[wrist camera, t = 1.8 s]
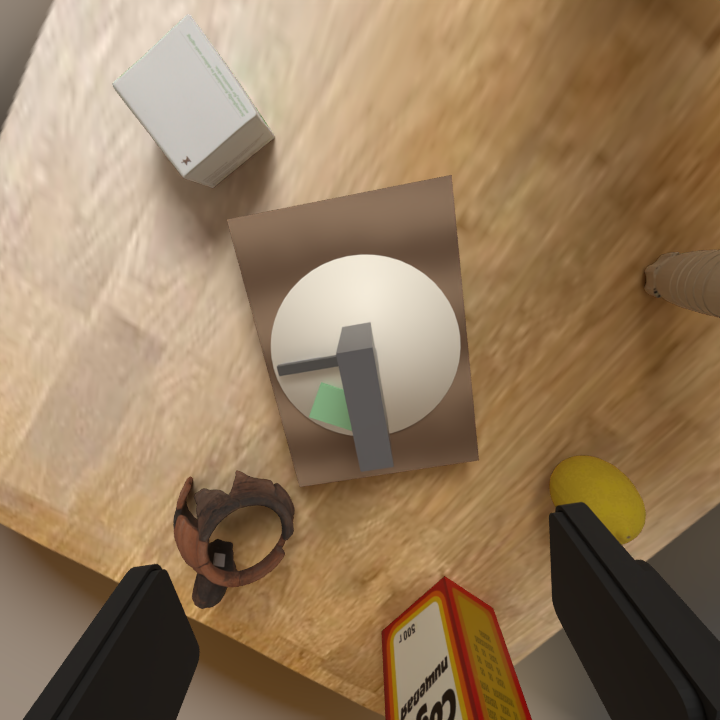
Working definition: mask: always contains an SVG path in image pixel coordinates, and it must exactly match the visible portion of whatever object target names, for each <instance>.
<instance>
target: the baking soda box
mask: <svg viewBox="0 0 720 720" xmlns="http://www.w3.org/2000/svg"><path fill="white" fill-rule="evenodd" d="M382 652H383V673H384V695H385V717H386V720H532V719H531V715H530V713H529V710H528V707H527V704H526V701H525V698H524V695H523V692H522V690H521V687H520V684H519V681H518V678H517V675H516V672H515V670H514V667H513V664H512V661H511V658H510V655H509V652H508V649H507V647H506V644H505V641H504V638H503V635H502V632H501V629H500V627H499V624H498V621H497V618H496V615H495V612H494V609H493V608H492V607H491V606H489V605H487V604H486V603H484V602H483V601H481V600H480V599H478V598H477V597H475V596H474V595H472V594H471V593H469V592H468V591H466V590H465V589H463V588H462V587H460V586H459V585H457V584H456V583H454V582H453V581H451V580H450V579H448V578H447V577H445V576H444V577H443V578H442V579H441V580H440V581H439V582H437V583H436V584H435V585H434V586H433V587H432V588H431V589H429V590H428V591H427V592H426V593H425V594H424V595H423V596H421V597H420V598H419V599H418V600H417V601H416V602H415V603H413V604H412V605H411V606H410V607H409V608H408V609H407V610H406V611H404V612H403V613H402V614H401V615H400V616H399V617H398V618H396V619H395V620H394V621H393V622H392V623H391V624H390V625H388V626H387V627H386V628H385V629H384V630H383V631H382Z"/></svg>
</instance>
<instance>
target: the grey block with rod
mask: <svg viewBox="0 0 720 720" xmlns="http://www.w3.org/2000/svg"><path fill="white" fill-rule="evenodd" d="M338 366H339V371H340V376H341V381H342V385H343V390H344V395H345V400H346V404H347V409H348V414H349V419H350V423H351V428H352V433H353V438H354V442H355V447H356V452H357V457H358V461H359V466H360V471H361V472H363V471H370V470H377V469H383V468H390V467H394V464H393V457H392V449H391V441H390V434H389V426H388V418H387V413H386V407H385V401H384V396H383V390H382V384H381V379H380V373H379V364H378V356H377V350H376V348H375V344H374V339H373V333H372V327H371V322H368V323H363V324H357V325H351V326H345V327H342V330H341V334H340V338H339V343H338V347H337V351H336V355H333V356H327V357H321V358H315V359H309V360H303V361H298V362H292V363H286V364H280V365H277V370H278V374H279V376H285V375H290V374H296V373H302V372H308V371H314V370H320V369H326V368H332V367H338Z"/></svg>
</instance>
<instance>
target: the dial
mask: <svg viewBox="0 0 720 720" xmlns="http://www.w3.org/2000/svg"><path fill="white" fill-rule="evenodd" d="M368 322H371V327H372V333H373V339H374V344H375V348H376V350H377V356H378V364H379V373H380V379H381V384H382V390H383V396H384V401H385V407H386V413H387V418H388V426H389V434H390V433H394V432H397V431H400V430H402V429H405V428H407V427H409V426H411V425H413V424H415V423H416V422H418V421H419V420H421V419H422V418H424V417H425V416H426V415H427V414H429V413H430V412H431V411H432V410H433V409H434V408H435V407H436V406H437V405H438V404H439V403H440V401H441V400H442V399H443V397H444V396H445V395H446V393H447V391H448V390H449V388H450V386H451V384H452V382H453V380H454V377H455V375H456V372H457V368H458V364H459V359H460V349H461V347H460V333H459V327H458V323H457V320H456V317H455V313H454V311H453V309H452V307H451V305H450V303H449V301H448V300H447V298H446V297H445V295H444V294H443V292H442V291H441V290H440V289H439V287H438V286H437V285H436V284H435V283H434V282H433V281H432V280H431V279H430V278H428V277H427V276H426V275H425V274H424V273H422V272H421V271H419V270H417V269H416V268H414V267H413V266H411V265H409V264H406V263H404V262H402V261H400V260H396V259H393V258H390V257H385V256H379V255H353V256H346V257H342V258H339V259H335V260H332V261H330V262H327V263H325V264H323V265H321V266H319V267H317V268H316V269H314V270H312V271H311V272H309V273H308V274H307V275H306V276H304V277H303V278H302V279H301V280H300V281H299V282H298V283H297V284H296V285H295V286H294V287H293V288H292V289H291V290H290V292H289V293H288V294H287V296H286V297H285V299H284V300H283V302H282V304H281V306H280V308H279V310H278V312H277V315H276V318H275V321H274V325H273V329H272V335H271V357H272V362H273V367H274V371H275V374H276V377H277V380H278V382H279V384H280V386H281V388H282V390H283V391H284V393H285V394H286V396H287V397H288V399H289V400H290V401H291V402H292V404H293V405H294V406H295V407H296V408H297V409H298V410H299V411H300V412H301V413H302V414H304V415H305V416H306V417H307V418H309V419H310V420H312V421H313V422H315V423H316V424H318V425H320V426H322V427H324V428H326V429H329V430H331V431H334V432H337V433H341V434H345V435H351V436H353V433H352V428H351V423H350V419H349V414H348V409H347V404H346V400H345V395H344V390H343V385H342V381H341V376H340V371H339V366H338V367H332V368H326V369H320V370H314V371H308V372H302V373H296V374H290V375H285V376H279V374H278V370H277V365H280V364H286V363H292V362H298V361H303V360H309V359H315V358H321V357H327V356H333V355H336V351H337V347H338V343H339V338H340V334H341V330H342V327H345V326H351V325H357V324H363V323H368Z"/></svg>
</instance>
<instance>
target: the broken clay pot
mask: <svg viewBox="0 0 720 720" xmlns="http://www.w3.org/2000/svg"><path fill="white" fill-rule="evenodd" d="M192 481H193V478H192V477H189V478H188V479H187V480H186V482H185V484H184V486H183V488H182V490H181V492H180V496H179V498H178V501H177V507H176V511H175V515H174V537H175V541H176V544H177V547H178V549H179V551H180V553H181V556H182V558H183V559H184V560H185V562H186V563H187V564H188V565H189V566H191V567H192V568H193V569H194V570H195V571H196V572H197V576H196V580H195V584H194V588H193V593H192V599H193V601H194V604H195V605H196V606H197V607H199V608H201V609H204V608H211V607H213V606H215V605H216V604H218V603H219V602H220V601H221V599H222V598H223V596H224V594H225V592H226V589H227V587H239V586H243V585H246V584H250V583H252V582H254V581H257V580H259V579H261V578H262V577H264V576H265V575H266V574H268V573H269V572H271V571H272V570H273V569H274V568H275V567H276V566H277V565H278V564H279V563H280V561H281V560H282V559H283V557H284V555H285V552H284V550H283V549H282V547H283V545H284V543H285V541H286V540H288V539H289V538H290V536H291V535H292V534H293V531H294V528H293V518H294V517H293V515H294V506H293V503H292V501H291V498H290V496H289V495H288V493H287V492H286V491H285V490H284V489H283V488H282V487H281V485H279V484H278V483H276V484H274V485H273V483H272V481H271V480H267V479H258V478H253V477H250V476H247V475H246V474H244V473H242V472H240V471H236V476H235V480H234V483H233V487H232V490H231V492H230V494H229V495H227V494H226V493H224V492H223V491H221V490H208V489H205V488H204V489H201V490H200V491H199V492H197V493H196V494H195V496H194V498H195V501H196V504H197V508H196V513H197V517H198V520H197V519H196V518H195V517H194V516H193V515H192V514H191V512H190V511H189V509H188V507H187V501H186V500H187V495H188V493H189V491H190V489H191V484H192ZM254 505H261V506H266V507H268V508H271V509H272V510H274V511H275V512H276V513H277V514H278V516H279V517H280V519H281V523H282V534H281V537H280V539H279V541H278V543H277V544H276V546H275V547H274V549H273V550H272V551H271V552H270V554H268V555H267V556H266V557H265V558H264V559H263V560H262V561H260V562H259V563H257V564H256V565H254V566H252V567H250V568H248V569H245V570H242V571H237V570H236V565H235V563H234V560H233V544H232V543H231V542H225V541H222V540H219V539H217V540H215V541H213V542H211V543H209V538H210V536H211V534H212V532H213V531H214V529H215V528H216V526H217V525H218V524H219V523H220V522H221V521H222V520H223V519H224V518H225V517H226V516H227V515H229V514H230V513H232V512H233V511H236V510H237V509H239V508H242V507H246V506H254Z"/></svg>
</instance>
